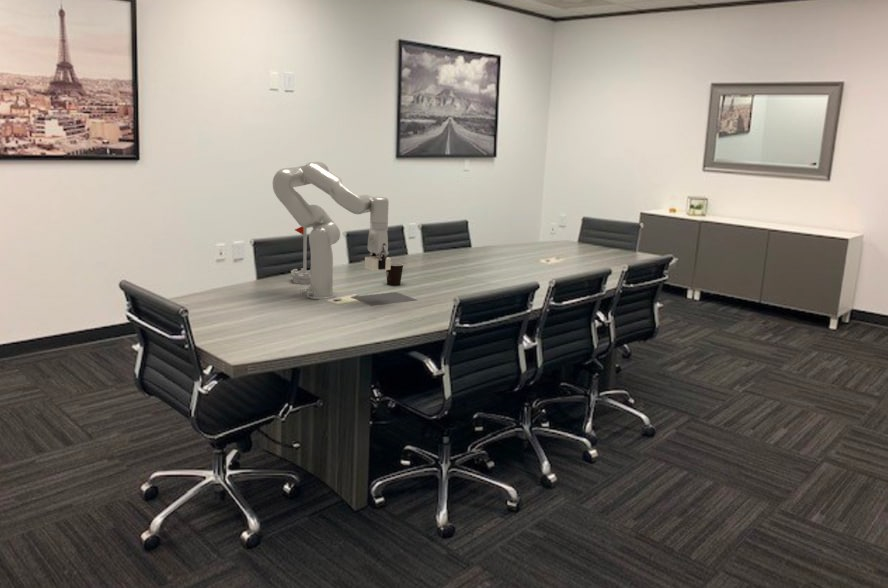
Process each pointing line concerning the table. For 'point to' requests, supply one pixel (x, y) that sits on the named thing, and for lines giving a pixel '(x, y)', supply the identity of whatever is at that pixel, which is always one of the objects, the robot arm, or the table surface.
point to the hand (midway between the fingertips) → (377, 267)
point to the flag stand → (303, 275)
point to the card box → (376, 263)
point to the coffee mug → (394, 274)
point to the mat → (383, 298)
